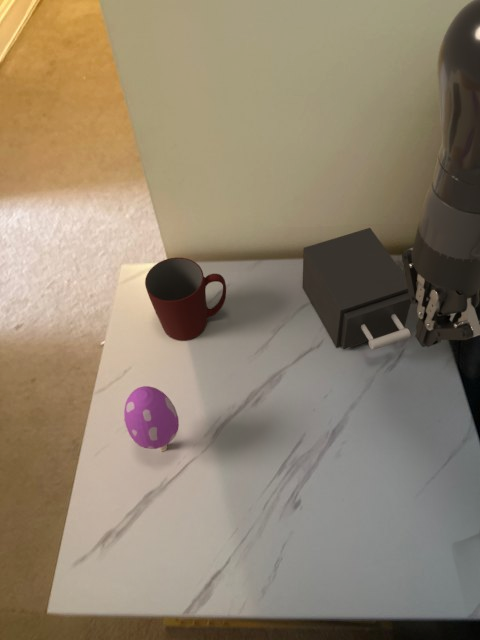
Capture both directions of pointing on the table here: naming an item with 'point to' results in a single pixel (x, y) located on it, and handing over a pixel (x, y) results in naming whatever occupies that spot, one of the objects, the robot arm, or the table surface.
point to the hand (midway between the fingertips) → (426, 340)
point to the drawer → (377, 323)
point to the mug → (181, 297)
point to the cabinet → (349, 277)
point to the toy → (150, 418)
